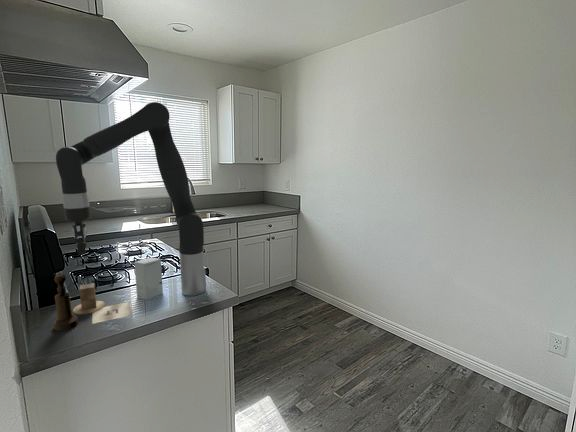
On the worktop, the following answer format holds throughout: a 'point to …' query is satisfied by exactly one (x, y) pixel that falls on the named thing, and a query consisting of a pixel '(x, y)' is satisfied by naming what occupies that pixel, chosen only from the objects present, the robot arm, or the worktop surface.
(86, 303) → the walnut block
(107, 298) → the worktop surface
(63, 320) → the brown tall tapered piece
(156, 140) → the robot arm
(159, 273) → the skincare box
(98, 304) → the cork coaster
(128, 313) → the tile
